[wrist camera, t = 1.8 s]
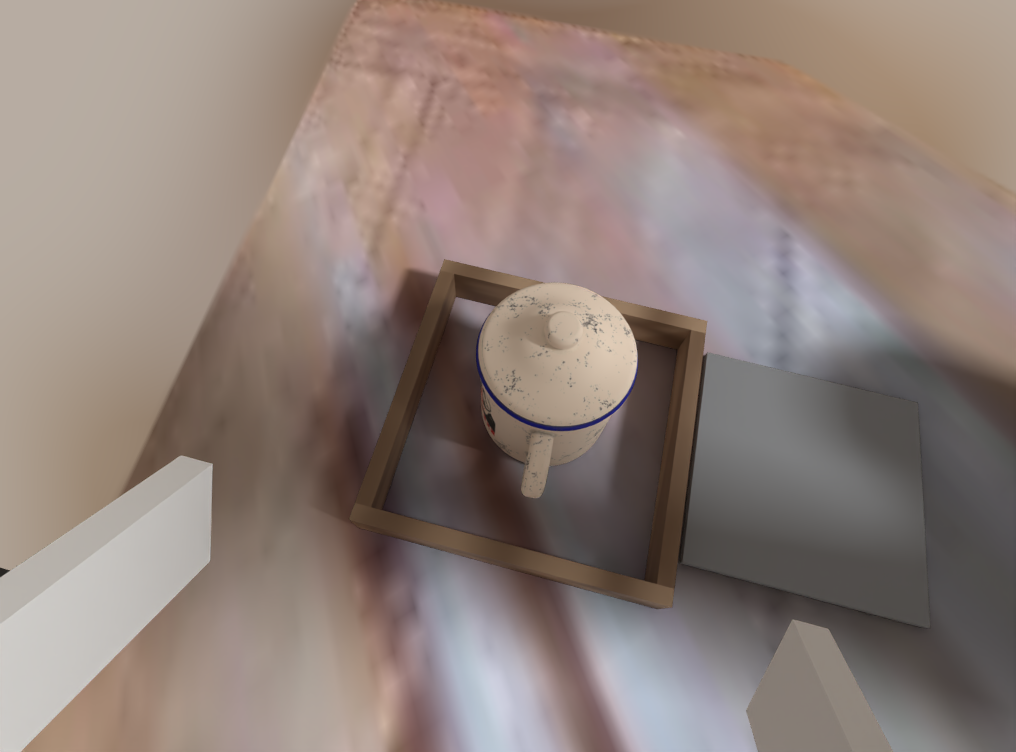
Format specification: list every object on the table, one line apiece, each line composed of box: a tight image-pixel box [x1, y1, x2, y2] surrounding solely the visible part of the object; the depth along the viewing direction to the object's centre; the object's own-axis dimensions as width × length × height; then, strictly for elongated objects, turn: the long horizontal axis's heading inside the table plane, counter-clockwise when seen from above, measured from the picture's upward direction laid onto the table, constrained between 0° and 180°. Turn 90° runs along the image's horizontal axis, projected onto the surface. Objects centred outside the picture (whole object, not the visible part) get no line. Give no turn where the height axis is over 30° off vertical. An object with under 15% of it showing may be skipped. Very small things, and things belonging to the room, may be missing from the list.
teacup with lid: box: [476, 283, 638, 498], centre depth 33 cm, size 12×9×12 cm
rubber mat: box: [680, 352, 930, 628], centre depth 37 cm, size 15×15×1 cm
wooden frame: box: [349, 259, 707, 609], centre depth 37 cm, size 19×19×3 cm
